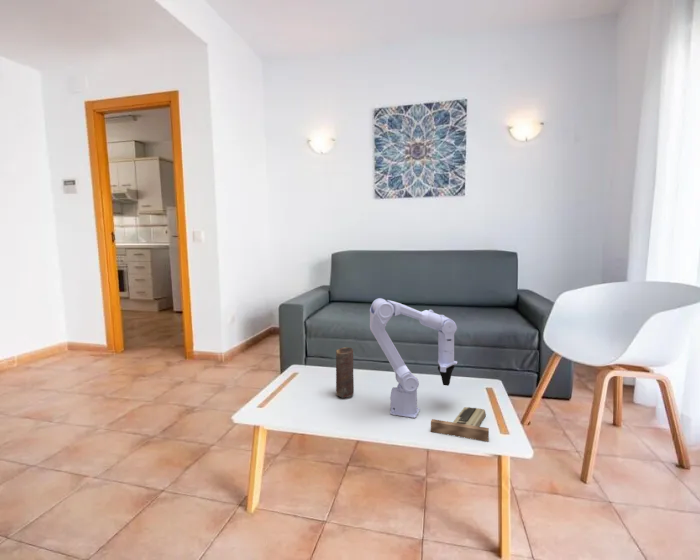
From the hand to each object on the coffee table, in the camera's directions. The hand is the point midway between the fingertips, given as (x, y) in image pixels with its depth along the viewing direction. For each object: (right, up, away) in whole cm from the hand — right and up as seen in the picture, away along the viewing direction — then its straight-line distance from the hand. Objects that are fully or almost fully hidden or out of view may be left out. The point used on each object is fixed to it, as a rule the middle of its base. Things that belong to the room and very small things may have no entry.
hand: (446, 384), depth 141 cm
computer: (+5, -11, -10) cm, 16 cm away
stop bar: (-1, -11, -19) cm, 22 cm away
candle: (-38, -9, +15) cm, 42 cm away
